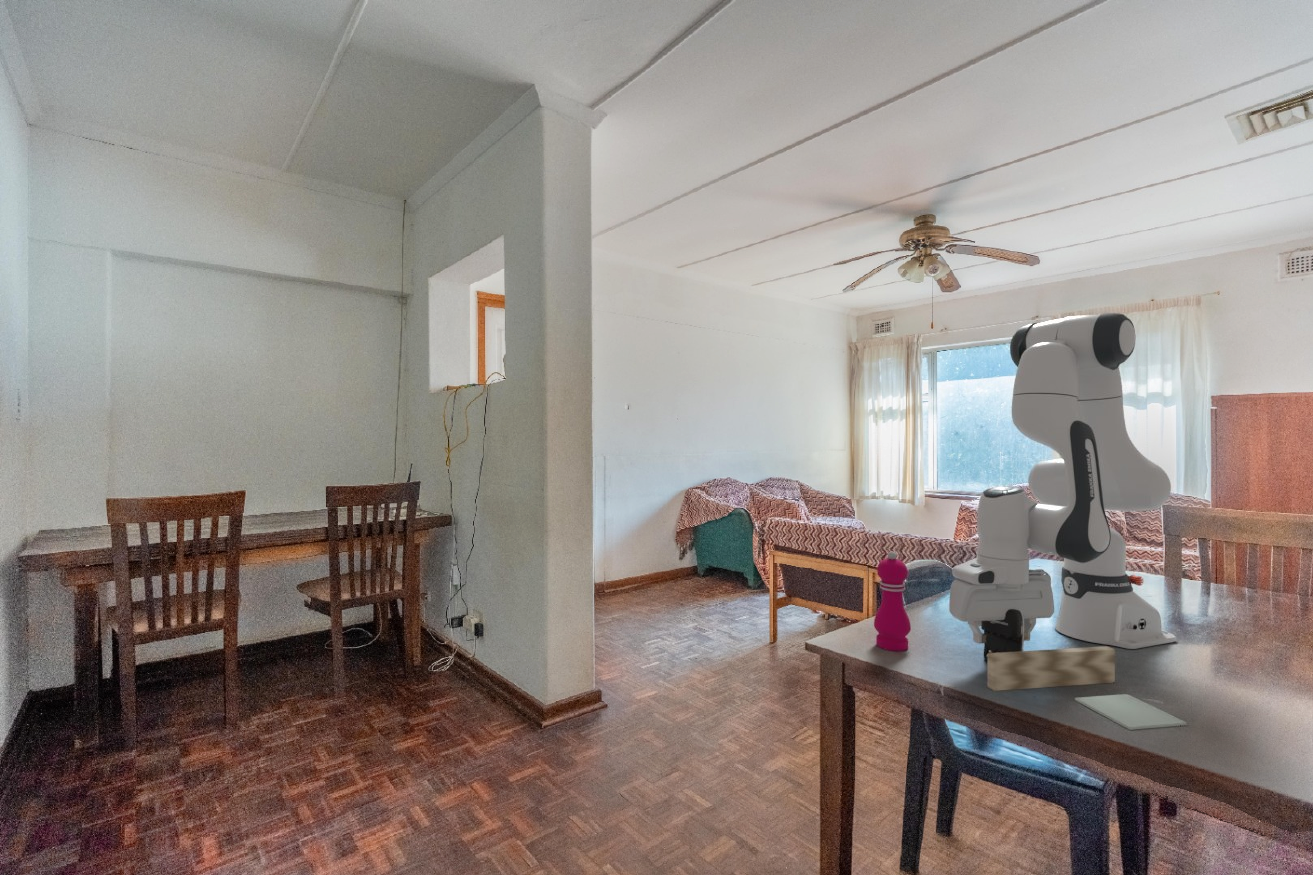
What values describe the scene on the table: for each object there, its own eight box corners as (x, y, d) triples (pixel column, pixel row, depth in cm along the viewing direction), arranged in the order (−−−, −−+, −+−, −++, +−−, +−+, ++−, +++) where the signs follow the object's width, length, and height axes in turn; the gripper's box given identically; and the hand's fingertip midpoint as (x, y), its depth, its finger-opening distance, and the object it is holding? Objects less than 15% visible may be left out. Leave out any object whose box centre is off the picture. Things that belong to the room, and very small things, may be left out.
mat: (1126, 696, 102) (1126, 693, 102) (1186, 724, 92) (1186, 722, 92) (1074, 700, 100) (1074, 697, 100) (1129, 729, 90) (1129, 727, 90)
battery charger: (978, 660, 117) (978, 603, 117) (986, 656, 120) (986, 599, 120) (1017, 671, 112) (1017, 611, 112) (1025, 666, 114) (1025, 607, 114)
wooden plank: (1106, 678, 109) (1107, 646, 109) (1114, 682, 107) (1115, 649, 107) (987, 686, 105) (987, 653, 105) (993, 690, 104) (993, 656, 104)
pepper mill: (914, 653, 121) (914, 555, 121) (876, 650, 123) (877, 554, 122) (906, 641, 128) (906, 548, 128) (871, 638, 130) (871, 547, 130)
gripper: (1037, 565, 120) (1037, 633, 120) (944, 568, 117) (944, 638, 117) (1063, 572, 114) (1062, 644, 114) (965, 575, 111) (965, 649, 111)
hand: (1001, 641), depth 116 cm, fingers open, 8 cm apart
